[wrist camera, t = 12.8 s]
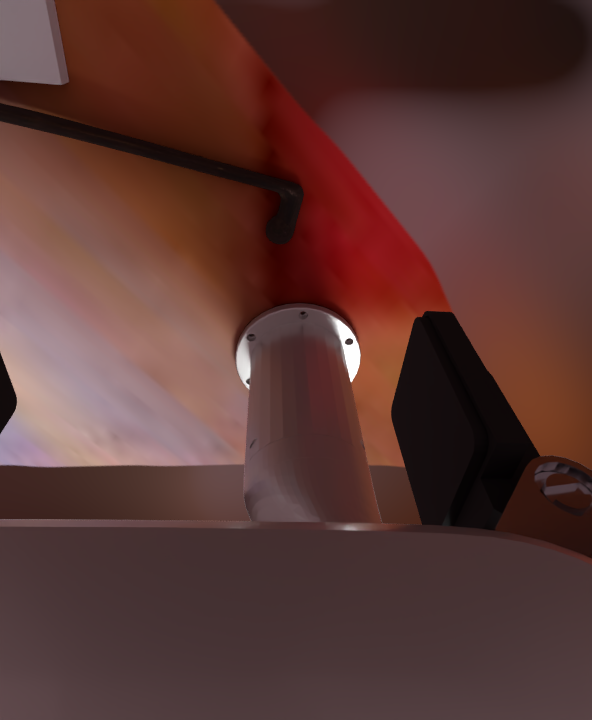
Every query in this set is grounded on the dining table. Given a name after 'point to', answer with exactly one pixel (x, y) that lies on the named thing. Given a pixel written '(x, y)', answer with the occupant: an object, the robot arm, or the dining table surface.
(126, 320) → the dining table surface
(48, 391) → the dining table surface
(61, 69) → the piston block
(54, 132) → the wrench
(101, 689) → the robot arm
